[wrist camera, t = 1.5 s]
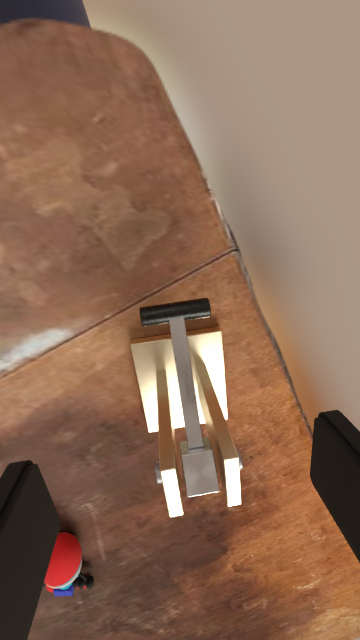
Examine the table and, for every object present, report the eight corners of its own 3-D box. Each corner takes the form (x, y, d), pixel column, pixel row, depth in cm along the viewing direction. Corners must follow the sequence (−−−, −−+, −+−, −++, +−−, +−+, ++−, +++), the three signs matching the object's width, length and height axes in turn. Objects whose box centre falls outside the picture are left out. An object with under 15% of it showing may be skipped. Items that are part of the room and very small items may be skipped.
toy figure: (99, 569, 42) (93, 522, 35) (90, 615, 38) (81, 573, 31) (49, 567, 42) (31, 519, 34) (34, 614, 38) (10, 570, 30)
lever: (141, 309, 21) (138, 305, 19) (205, 299, 22) (209, 295, 19) (166, 482, 21) (166, 502, 18) (232, 471, 21) (240, 488, 18)
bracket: (130, 339, 27) (116, 435, 16) (219, 326, 28) (270, 409, 16) (148, 425, 32) (147, 553, 20) (225, 412, 32) (270, 530, 20)
